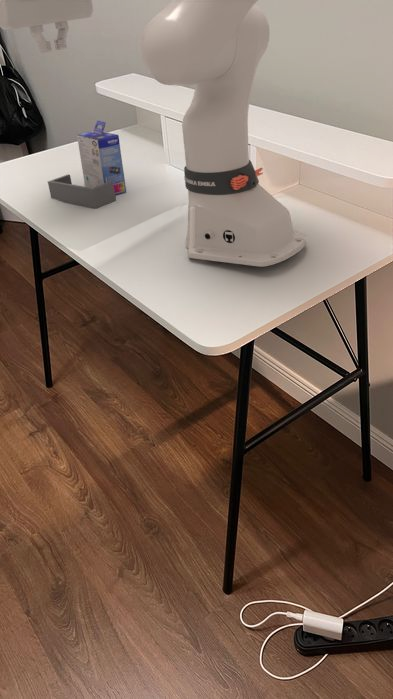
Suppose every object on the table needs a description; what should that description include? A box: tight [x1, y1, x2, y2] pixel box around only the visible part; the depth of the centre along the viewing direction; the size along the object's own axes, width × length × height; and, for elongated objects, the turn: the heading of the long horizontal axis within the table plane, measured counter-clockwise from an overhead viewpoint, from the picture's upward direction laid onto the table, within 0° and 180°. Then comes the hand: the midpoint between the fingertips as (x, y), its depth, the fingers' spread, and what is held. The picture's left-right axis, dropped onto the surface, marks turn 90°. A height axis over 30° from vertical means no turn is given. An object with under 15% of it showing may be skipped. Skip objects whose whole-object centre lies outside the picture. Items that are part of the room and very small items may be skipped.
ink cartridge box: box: [76, 120, 127, 196], centre depth 134 cm, size 10×6×14 cm, turn 37°
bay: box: [47, 173, 117, 209], centre depth 132 cm, size 14×6×4 cm, turn 50°
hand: (53, 50), depth 119 cm, fingers closed
